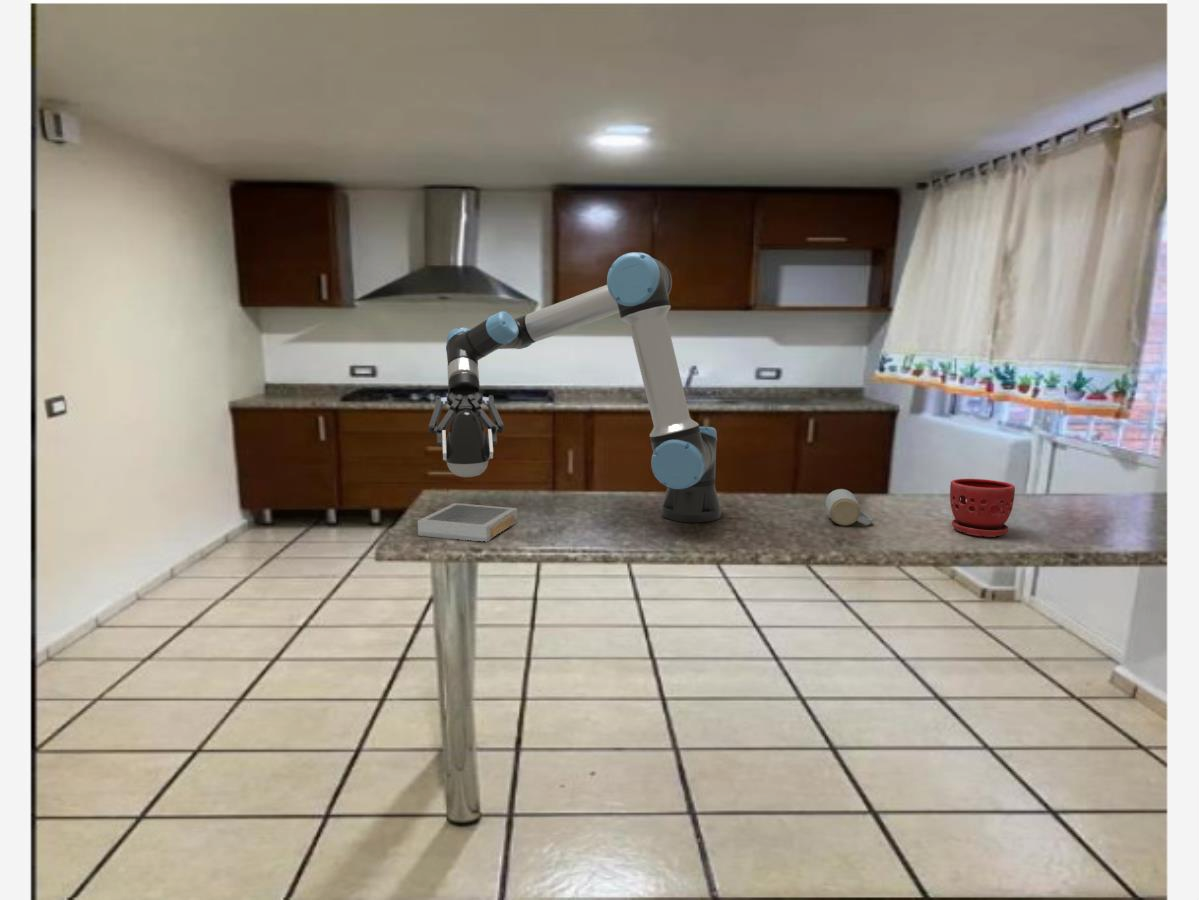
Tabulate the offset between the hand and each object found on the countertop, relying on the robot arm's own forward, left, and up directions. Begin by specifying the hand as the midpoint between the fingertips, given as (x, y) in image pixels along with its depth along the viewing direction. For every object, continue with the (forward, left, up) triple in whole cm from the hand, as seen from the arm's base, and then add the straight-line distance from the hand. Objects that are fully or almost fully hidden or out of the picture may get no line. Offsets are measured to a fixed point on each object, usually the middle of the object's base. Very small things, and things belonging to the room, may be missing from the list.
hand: (468, 456), depth 151 cm
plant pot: (-113, -37, -18) cm, 121 cm away
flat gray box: (+2, -3, -18) cm, 18 cm away
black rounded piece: (+2, -3, -5) cm, 6 cm away
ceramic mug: (-85, -36, -18) cm, 94 cm away
